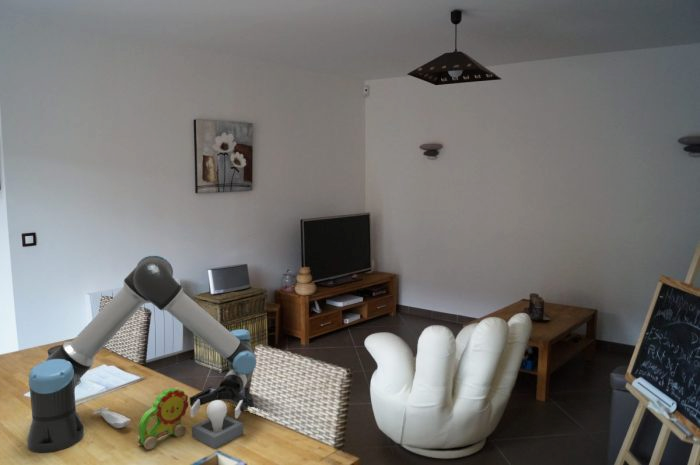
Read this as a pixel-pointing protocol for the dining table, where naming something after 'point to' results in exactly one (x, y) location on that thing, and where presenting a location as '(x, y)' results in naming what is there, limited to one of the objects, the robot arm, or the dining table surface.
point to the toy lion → (164, 417)
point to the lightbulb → (217, 414)
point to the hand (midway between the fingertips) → (213, 413)
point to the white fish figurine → (113, 418)
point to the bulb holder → (228, 433)
